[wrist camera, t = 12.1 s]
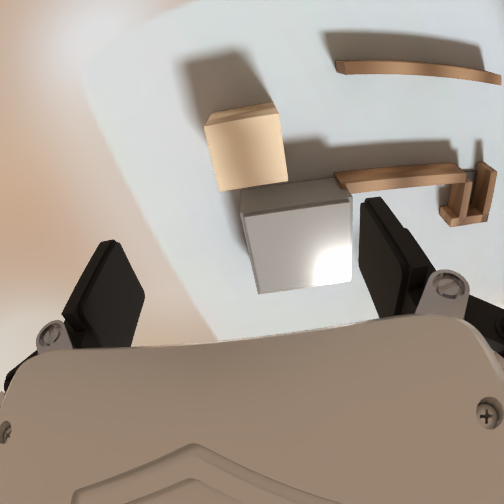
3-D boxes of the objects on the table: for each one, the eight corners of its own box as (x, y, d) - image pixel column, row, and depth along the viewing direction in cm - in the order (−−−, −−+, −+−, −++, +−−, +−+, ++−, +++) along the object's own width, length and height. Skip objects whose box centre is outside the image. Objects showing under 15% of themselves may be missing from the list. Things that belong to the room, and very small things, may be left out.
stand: (339, 176, 26) (353, 198, 23) (341, 255, 32) (351, 282, 28) (240, 190, 27) (239, 214, 24) (257, 267, 33) (258, 296, 29)
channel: (488, 71, 19) (504, 76, 17) (475, 209, 28) (487, 221, 26) (323, 61, 20) (331, 62, 18) (336, 228, 30) (342, 242, 28)
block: (273, 102, 23) (278, 113, 19) (281, 157, 26) (288, 180, 22) (212, 112, 23) (203, 126, 19) (224, 167, 26) (219, 191, 22)
